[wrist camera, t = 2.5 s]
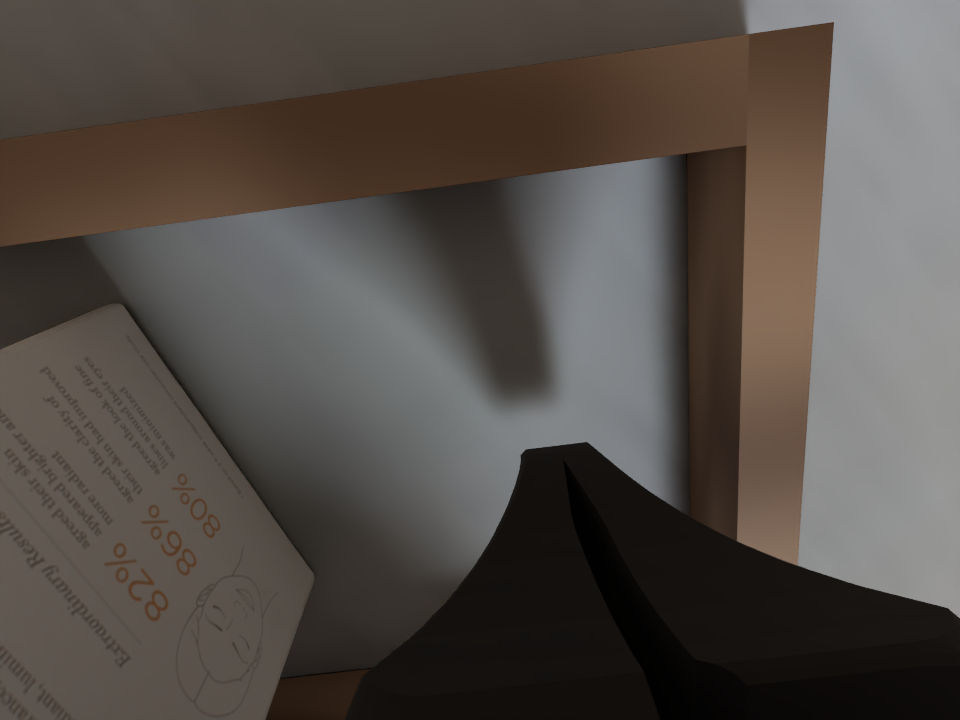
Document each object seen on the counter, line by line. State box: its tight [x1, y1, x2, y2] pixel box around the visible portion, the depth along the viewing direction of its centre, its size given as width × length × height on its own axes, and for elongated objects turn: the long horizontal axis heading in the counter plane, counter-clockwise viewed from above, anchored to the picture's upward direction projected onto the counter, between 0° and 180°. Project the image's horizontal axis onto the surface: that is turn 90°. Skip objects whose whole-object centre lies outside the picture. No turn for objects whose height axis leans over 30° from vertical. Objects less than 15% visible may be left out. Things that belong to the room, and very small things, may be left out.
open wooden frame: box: [0, 22, 834, 720], centre depth 12 cm, size 15×21×2 cm
